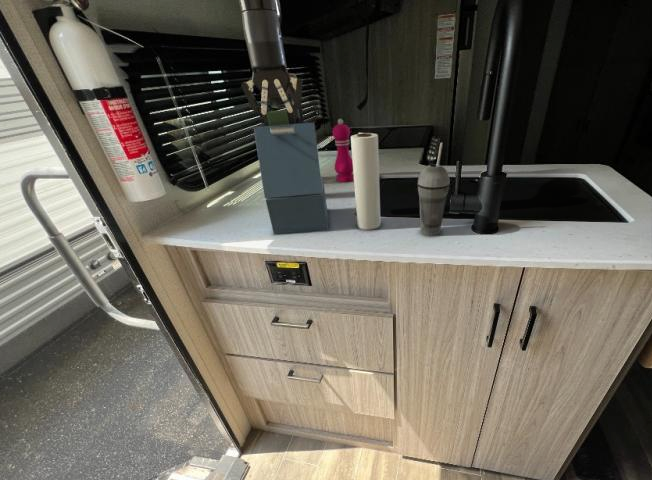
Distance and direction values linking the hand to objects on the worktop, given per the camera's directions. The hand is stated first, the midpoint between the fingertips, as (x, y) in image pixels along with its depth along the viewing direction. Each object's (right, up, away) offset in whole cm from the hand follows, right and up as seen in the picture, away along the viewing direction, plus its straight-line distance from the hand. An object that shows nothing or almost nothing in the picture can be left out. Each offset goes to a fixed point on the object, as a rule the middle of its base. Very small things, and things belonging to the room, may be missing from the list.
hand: (281, 130), depth 77 cm
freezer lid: (+2, -8, -2) cm, 9 cm away
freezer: (+3, -19, +11) cm, 22 cm away
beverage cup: (+36, -25, +1) cm, 44 cm away
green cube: (0, 0, 0) cm, 0 cm away
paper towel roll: (+22, -22, +6) cm, 31 cm away
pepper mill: (+13, +4, +42) cm, 44 cm away
